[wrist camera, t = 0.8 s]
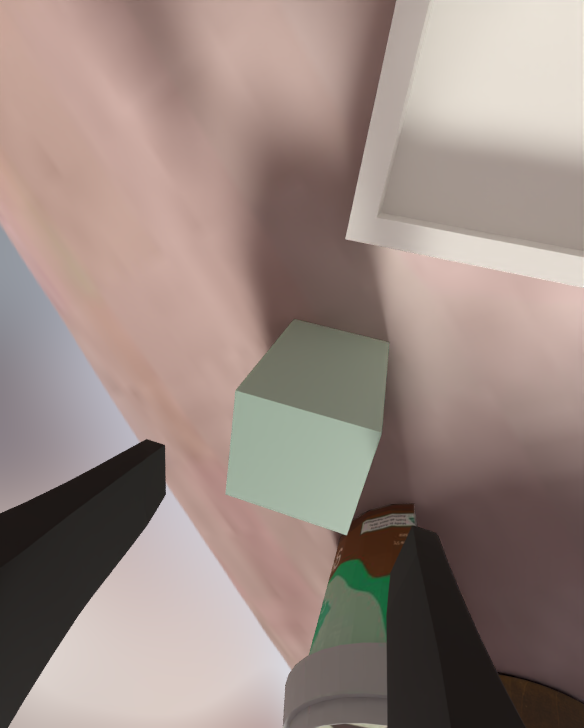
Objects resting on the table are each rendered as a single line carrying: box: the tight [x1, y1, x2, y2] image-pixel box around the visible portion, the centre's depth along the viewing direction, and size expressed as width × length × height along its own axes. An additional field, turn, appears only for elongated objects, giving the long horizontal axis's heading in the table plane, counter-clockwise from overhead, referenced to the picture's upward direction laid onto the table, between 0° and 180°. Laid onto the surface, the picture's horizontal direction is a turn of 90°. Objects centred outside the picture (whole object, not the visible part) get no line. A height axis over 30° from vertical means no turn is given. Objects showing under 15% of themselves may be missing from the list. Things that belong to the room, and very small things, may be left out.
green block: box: [226, 319, 389, 535], centre depth 15 cm, size 4×4×7 cm
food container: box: [283, 504, 417, 728], centre depth 18 cm, size 12×6×10 cm, turn 14°
